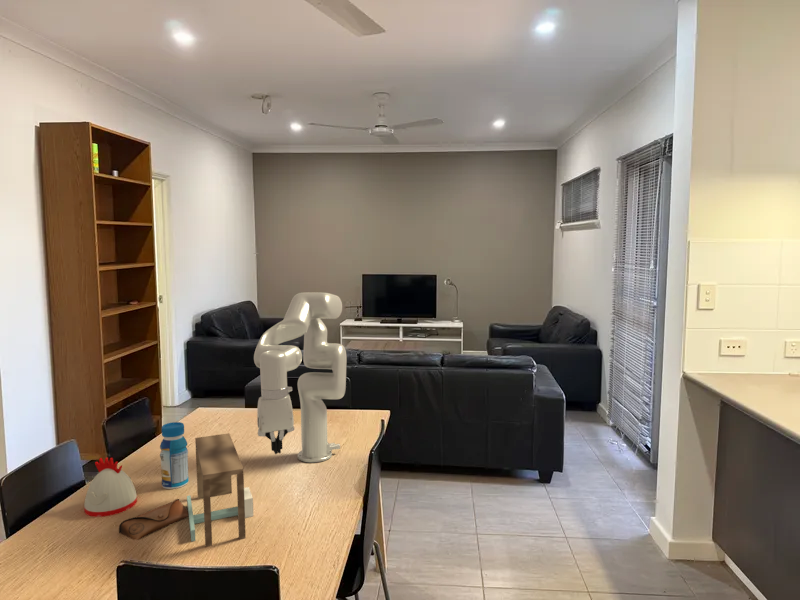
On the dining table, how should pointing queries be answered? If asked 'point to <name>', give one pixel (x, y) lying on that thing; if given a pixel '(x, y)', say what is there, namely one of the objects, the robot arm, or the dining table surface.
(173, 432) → the beverage bottle
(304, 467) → the dining table surface
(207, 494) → the tunnel
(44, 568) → the dining table surface
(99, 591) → the dining table surface
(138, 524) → the sunglasses case
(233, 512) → the mint t-bar
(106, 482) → the kitchen timer
